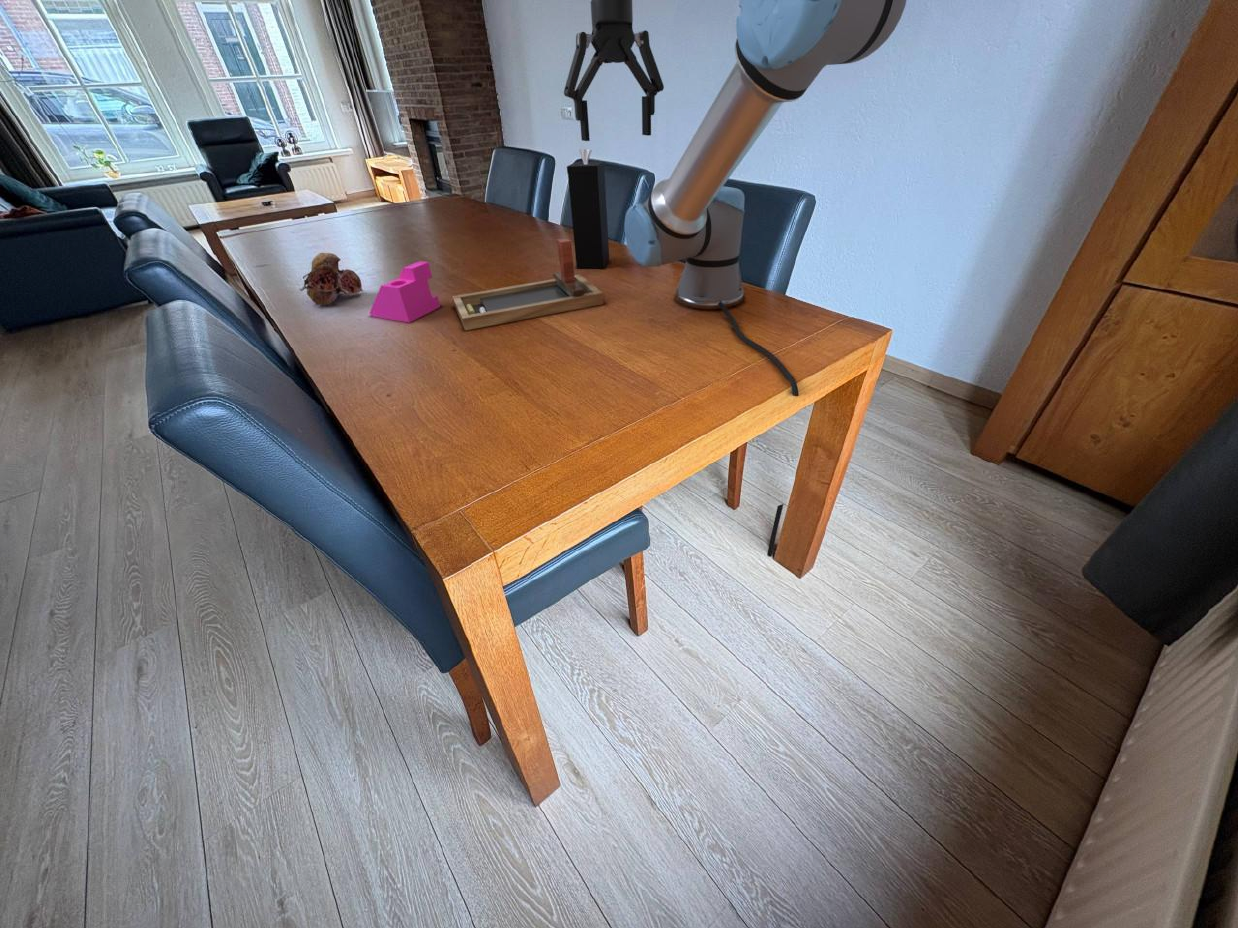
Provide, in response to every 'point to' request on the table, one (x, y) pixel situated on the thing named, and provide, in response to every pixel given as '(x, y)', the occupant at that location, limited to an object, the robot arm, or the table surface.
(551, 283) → the slate
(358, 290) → the seed pod
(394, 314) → the bracket
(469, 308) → the yellow chalk
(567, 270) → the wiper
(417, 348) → the table surface
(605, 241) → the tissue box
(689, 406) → the table surface
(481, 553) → the table surface
